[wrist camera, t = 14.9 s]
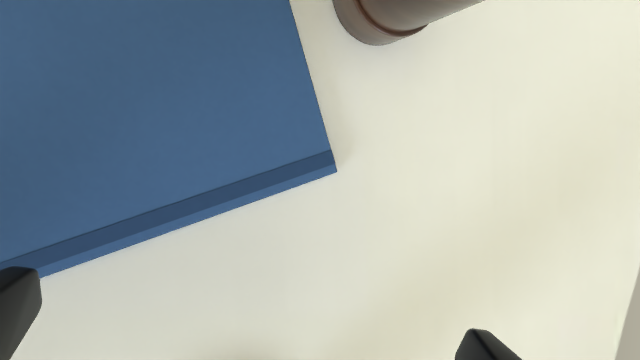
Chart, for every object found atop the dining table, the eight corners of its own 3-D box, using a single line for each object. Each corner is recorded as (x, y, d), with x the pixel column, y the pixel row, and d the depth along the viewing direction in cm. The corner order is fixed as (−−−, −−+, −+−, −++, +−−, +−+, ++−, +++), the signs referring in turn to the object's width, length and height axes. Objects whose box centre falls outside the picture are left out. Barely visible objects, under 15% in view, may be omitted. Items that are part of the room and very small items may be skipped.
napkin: (1, 290, 17) (-2, 293, 17) (-168, -6, 14) (-177, -8, 14) (335, 171, 21) (337, 172, 20) (263, -85, 18) (264, -89, 17)
